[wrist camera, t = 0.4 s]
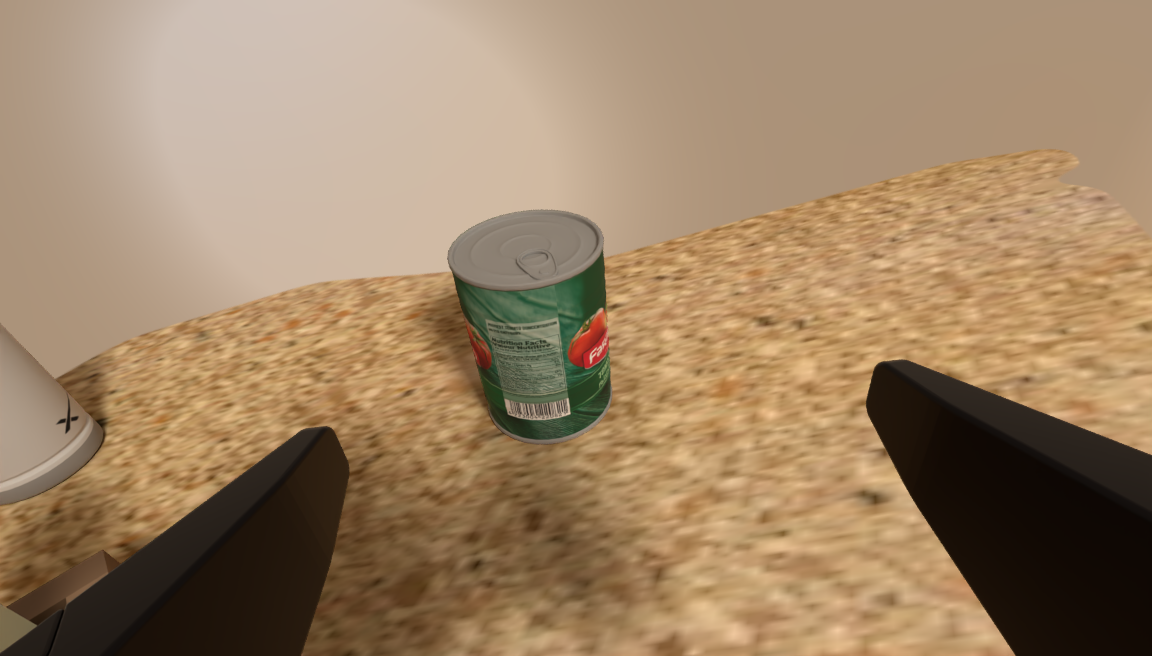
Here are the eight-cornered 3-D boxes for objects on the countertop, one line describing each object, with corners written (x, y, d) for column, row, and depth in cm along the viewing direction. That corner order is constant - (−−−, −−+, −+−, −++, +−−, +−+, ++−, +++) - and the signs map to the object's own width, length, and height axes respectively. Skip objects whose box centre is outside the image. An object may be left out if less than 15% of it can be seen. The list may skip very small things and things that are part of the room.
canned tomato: (476, 377, 34) (434, 229, 28) (583, 342, 36) (569, 197, 30) (507, 465, 28) (464, 303, 22) (634, 418, 30) (631, 256, 24)
